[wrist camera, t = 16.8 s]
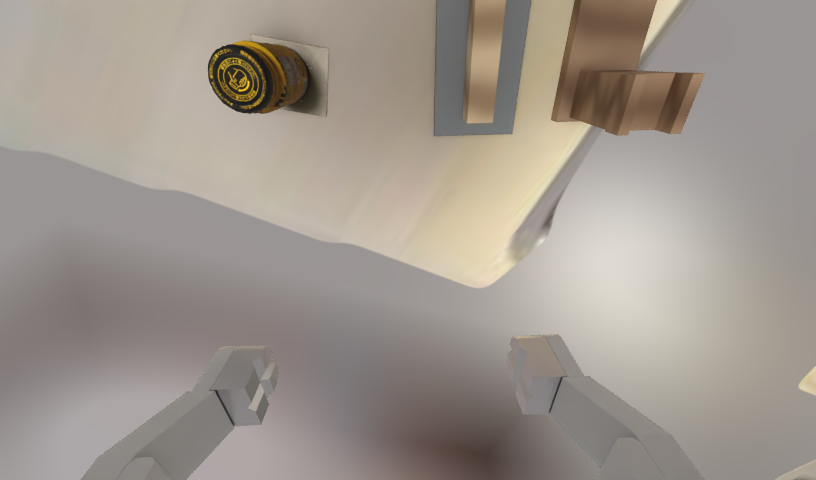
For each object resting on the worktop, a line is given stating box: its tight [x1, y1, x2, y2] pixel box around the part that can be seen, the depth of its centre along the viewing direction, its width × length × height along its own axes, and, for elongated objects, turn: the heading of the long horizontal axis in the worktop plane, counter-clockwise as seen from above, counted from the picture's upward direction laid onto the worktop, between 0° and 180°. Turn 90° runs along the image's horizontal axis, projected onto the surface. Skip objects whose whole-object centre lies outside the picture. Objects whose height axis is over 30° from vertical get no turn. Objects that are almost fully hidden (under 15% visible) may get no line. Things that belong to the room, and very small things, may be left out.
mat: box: [434, 0, 531, 136], centre depth 34 cm, size 24×10×1 cm, turn 1°
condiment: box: [208, 34, 329, 117], centre depth 31 cm, size 7×8×12 cm
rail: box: [463, 0, 506, 123], centre depth 33 cm, size 20×3×3 cm, turn 1°
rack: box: [551, 0, 705, 135], centre depth 29 cm, size 21×8×12 cm, turn 1°
